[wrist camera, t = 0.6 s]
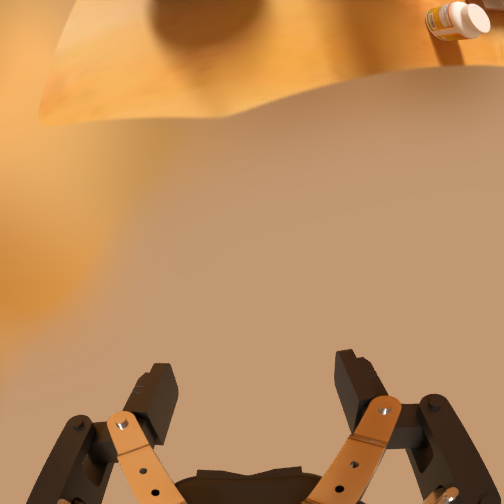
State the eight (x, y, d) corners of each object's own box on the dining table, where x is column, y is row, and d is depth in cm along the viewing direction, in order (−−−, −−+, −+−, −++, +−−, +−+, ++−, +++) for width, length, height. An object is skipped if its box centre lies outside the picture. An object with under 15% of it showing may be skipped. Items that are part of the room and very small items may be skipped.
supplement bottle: (457, 29, 22) (499, 26, 14) (443, 47, 24) (485, 46, 16) (433, 2, 20) (472, -8, 12) (418, 20, 23) (457, 10, 15)
